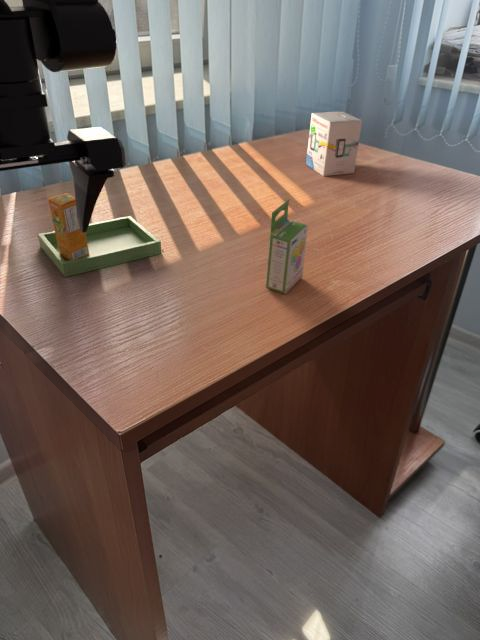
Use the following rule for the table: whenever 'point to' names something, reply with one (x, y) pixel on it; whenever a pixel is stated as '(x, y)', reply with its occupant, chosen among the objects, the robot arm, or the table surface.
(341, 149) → the ink box
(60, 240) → the supplement box
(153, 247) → the green tray
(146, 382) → the table surface
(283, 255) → the ink box
